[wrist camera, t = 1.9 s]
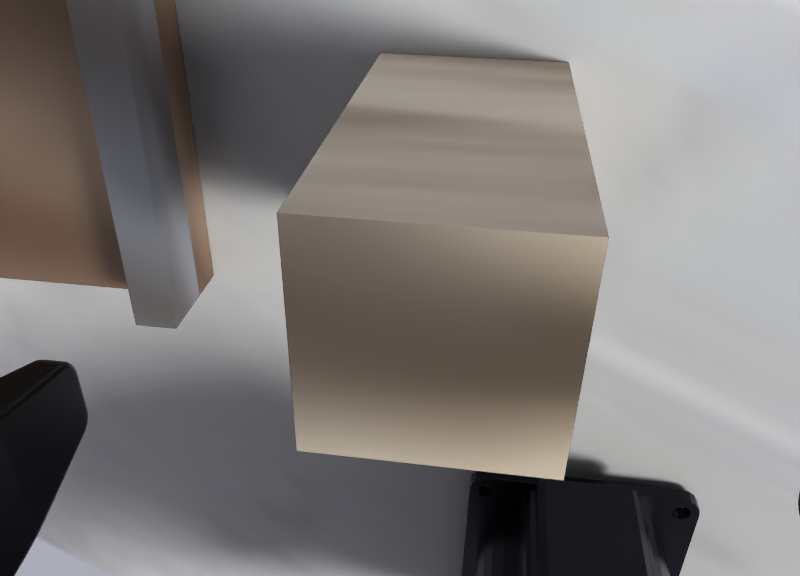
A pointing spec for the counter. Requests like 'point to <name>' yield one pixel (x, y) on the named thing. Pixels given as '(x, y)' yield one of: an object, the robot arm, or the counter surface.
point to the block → (445, 268)
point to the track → (100, 153)
